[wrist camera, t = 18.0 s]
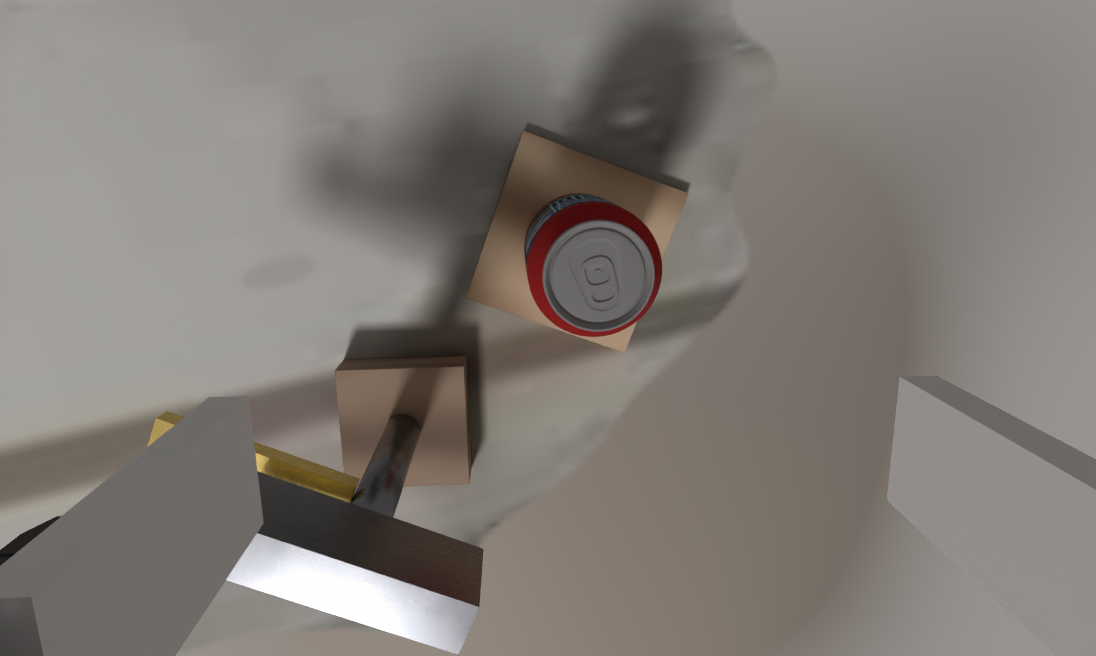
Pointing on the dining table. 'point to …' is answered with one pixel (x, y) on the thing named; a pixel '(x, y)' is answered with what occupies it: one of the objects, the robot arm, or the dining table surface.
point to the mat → (531, 186)
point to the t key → (357, 544)
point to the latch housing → (414, 390)
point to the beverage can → (591, 265)
